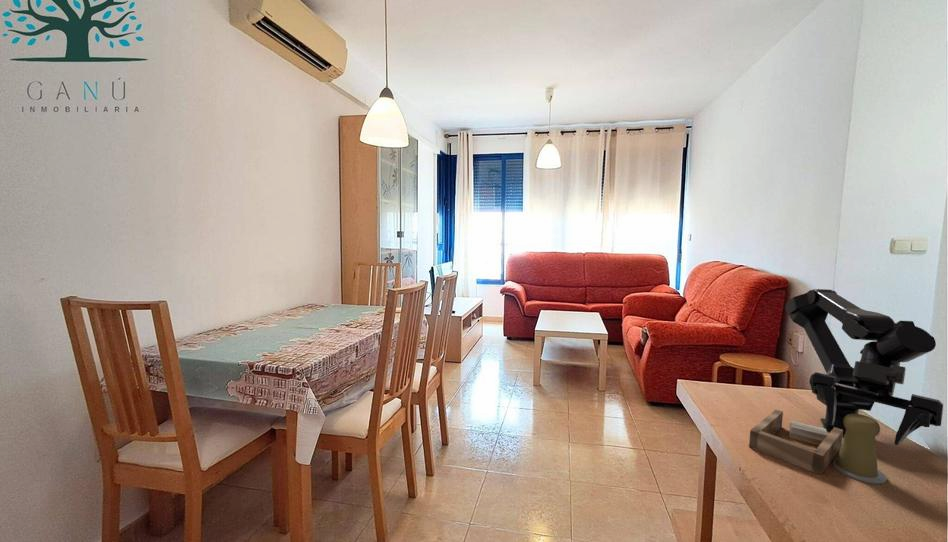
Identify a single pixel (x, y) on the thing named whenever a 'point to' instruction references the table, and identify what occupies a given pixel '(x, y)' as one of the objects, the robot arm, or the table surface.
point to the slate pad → (877, 480)
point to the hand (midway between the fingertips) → (861, 433)
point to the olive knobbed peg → (859, 446)
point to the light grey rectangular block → (807, 433)
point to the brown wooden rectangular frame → (794, 445)
